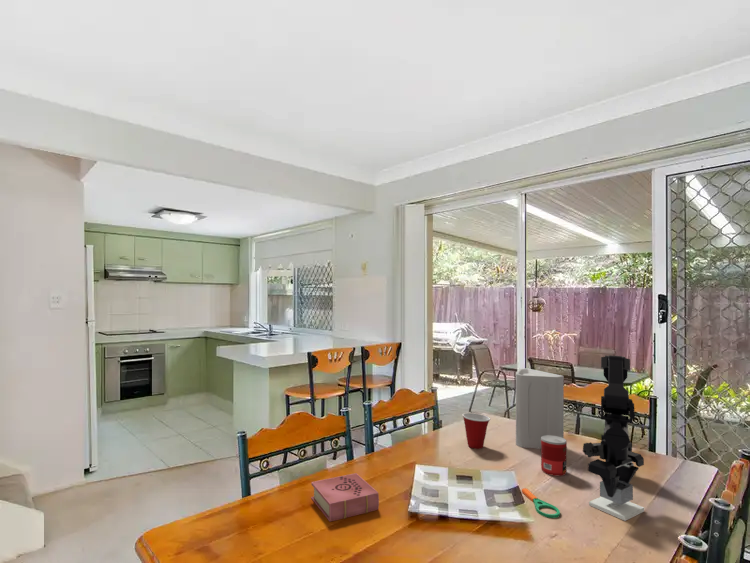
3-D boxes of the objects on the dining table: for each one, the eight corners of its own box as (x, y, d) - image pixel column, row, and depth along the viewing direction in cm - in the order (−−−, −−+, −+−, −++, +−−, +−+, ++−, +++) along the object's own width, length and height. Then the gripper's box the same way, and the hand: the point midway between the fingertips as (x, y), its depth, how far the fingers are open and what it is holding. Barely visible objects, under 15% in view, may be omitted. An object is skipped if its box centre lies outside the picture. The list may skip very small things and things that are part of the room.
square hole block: (611, 490, 127) (611, 477, 127) (632, 499, 122) (632, 485, 122) (599, 496, 124) (599, 481, 124) (621, 504, 119) (621, 490, 119)
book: (330, 524, 113) (331, 505, 113) (311, 499, 127) (311, 482, 127) (379, 512, 120) (379, 493, 120) (355, 489, 133) (356, 473, 134)
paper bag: (500, 438, 180) (501, 370, 181) (527, 433, 187) (527, 368, 188) (537, 454, 163) (537, 379, 164) (564, 448, 170) (564, 376, 171)
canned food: (568, 477, 143) (568, 443, 143) (543, 475, 145) (543, 441, 145) (563, 468, 150) (563, 436, 151) (539, 466, 152) (539, 434, 152)
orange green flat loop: (565, 518, 118) (565, 512, 118) (544, 520, 116) (545, 514, 116) (533, 493, 133) (533, 487, 133) (515, 494, 131) (515, 488, 131)
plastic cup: (496, 449, 168) (496, 418, 168) (472, 452, 164) (472, 420, 164) (479, 440, 178) (479, 410, 178) (456, 443, 174) (457, 413, 174)
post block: (608, 496, 130) (608, 479, 130) (644, 511, 121) (644, 492, 121) (589, 505, 124) (589, 487, 124) (625, 521, 116) (625, 501, 116)
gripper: (606, 425, 135) (606, 476, 135) (570, 435, 125) (570, 490, 125) (644, 435, 126) (644, 490, 125) (608, 447, 116) (608, 507, 115)
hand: (616, 493), depth 123 cm, fingers closed on square hole block, 6 cm apart
